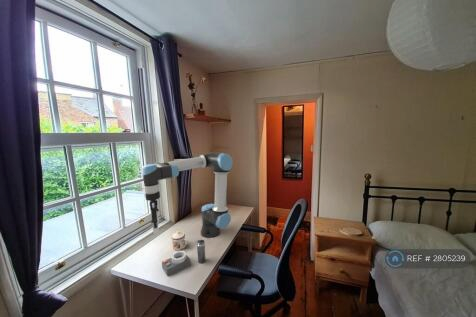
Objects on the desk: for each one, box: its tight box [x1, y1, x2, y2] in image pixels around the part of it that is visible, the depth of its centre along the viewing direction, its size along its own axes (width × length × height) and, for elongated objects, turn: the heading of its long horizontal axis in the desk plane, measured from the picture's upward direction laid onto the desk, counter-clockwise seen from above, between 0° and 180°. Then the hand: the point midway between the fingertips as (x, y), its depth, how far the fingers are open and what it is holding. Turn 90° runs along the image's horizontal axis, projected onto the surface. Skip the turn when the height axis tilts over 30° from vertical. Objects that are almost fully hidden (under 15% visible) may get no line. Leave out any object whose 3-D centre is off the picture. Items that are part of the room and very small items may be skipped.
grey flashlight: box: [196, 239, 207, 265], centre depth 120 cm, size 5×5×13 cm
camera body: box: [161, 250, 191, 277], centre depth 116 cm, size 14×9×6 cm, turn 129°
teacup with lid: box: [171, 230, 189, 251], centre depth 135 cm, size 12×9×12 cm
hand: (156, 227), depth 112 cm, fingers open, 13 cm apart
